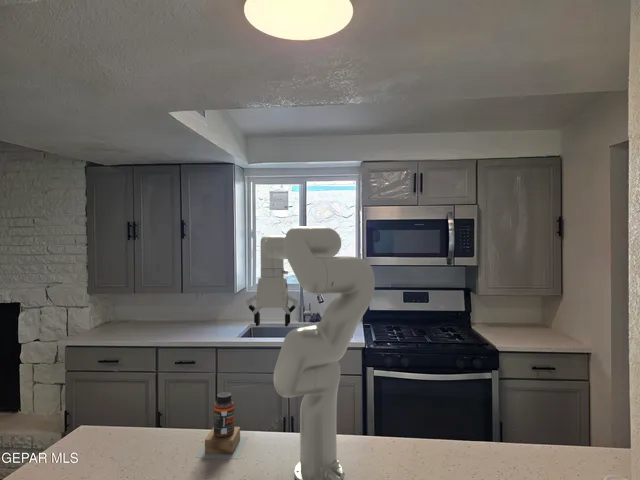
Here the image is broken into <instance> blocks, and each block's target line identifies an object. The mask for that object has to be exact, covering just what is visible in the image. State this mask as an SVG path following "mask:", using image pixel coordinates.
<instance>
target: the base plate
mask: <svg viewBox="0 0 640 480" xmlns="http://www.w3.org/2000/svg"><path fill="white" fill-rule="evenodd" d="M248 439H249V437H248V436H240V441H239V443H238V445H237V447H236V449H235V451H234V453H233V455H229V454H205V443H204V444H203V445H202V447H201V448H200V450H199V451H198V453H197V454H196V456H195V458H198V459H226V460H227V459H228V460H233V459H234V460H238V459H239V457H240V456H241V453H242V451H243V449H244V447H245V446H246V443H247V441H248Z"/></svg>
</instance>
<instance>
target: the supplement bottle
mask: <svg viewBox="0 0 640 480" xmlns="http://www.w3.org/2000/svg"><path fill="white" fill-rule="evenodd" d="M216 396H217V397H216V401H214V404H213V427H214V435H215V436H217V437H227V436H230V435H231V434H233V433H234V427H235V402H234V400H233V399H232V393H231V392H228V391H227V392H226V391H224V392H223V391H222V392H220V393H218V394H216Z"/></svg>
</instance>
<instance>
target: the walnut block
mask: <svg viewBox="0 0 640 480" xmlns="http://www.w3.org/2000/svg"><path fill="white" fill-rule="evenodd" d="M240 437H241V427H240V426H234V433H233V434H231V435H230V436H227V437H217V436H215V435H214V426H213V427H212V428H211V430H210V432H209V433H208V434H207V436H206V437H205V439H204V444H205V454H229V455H233V453H234V451H235V449H236V447H237V445H238V443H239V441H240Z"/></svg>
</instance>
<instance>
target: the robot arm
mask: <svg viewBox="0 0 640 480" xmlns="http://www.w3.org/2000/svg"><path fill="white" fill-rule="evenodd" d="M341 248H342V238H341V236H340V234H339V233H338V232H337V231H336V230H335V229H333V228H331V227H327V226H307V225H306V226H294V227H291V228H290V229H289V230H288V231H287V232H286V233H285V234H282V235H280V234H279V235H277V234H274V235H267V236H261V239H260V277H258V280H257V284H256V285H257V286H256V294H255V295H254V296H252V297H250V298H248V299H246V300H245V302H246V305H247V307H248V309H249V310H250V311H251V312H252V314H253V316H254V317H253V322H254V324H255V327H259V326H260V324H261V314H260V310H261V309H270V310H271V309H276V310H277V309H279V310H280V309H283V311H284V313H285V314H284V327H287V328H288V326H289V324H291V313H292V312H293V311H294V310H295V309H296V307H297V306H298V303H299V302H300V301H299V299H297V298H295V297H293V296H291V295H290V294H289V289H288V282H287V277H284V276H285V275H288V274H289V269H288V270H287V269H285V268H284V261H285V260H287V261H288V263H289V266H290V267H291V269H292V272H293V273H294V276H295V278H296V279H297V281H298V283H299V285H300V287H301V288H302V290H303V291H304V292H305V293H307V294H309V295H319V296H320V295H327V294H338V295H337V296H336V297H335V298H334V299H333V300H332V301H331V302H330V303H329V304H328V305H327V307H326V308H325V310H324V312H323V314H322V317H321V318H320V319H321V320H320V321H319V322H318V323H316V324H313V325H307V326H301V327H300V326H299V327H295V328H293V329H291V330H290V331H288V333H287V334H286V335H285V337H284V340H283V341H282V345H281V348H280V350H279V354H278V358H277V360H276V363H275V366H274V369H273V385H274V389H275V392H276V393H277V394H278V395H280V396H281V397H283V398H286V399H288V398H289V399H291V398H294V397H295V398H296V397H300V396H303V398H302V400H301V404H300V411H299V412H300V413H299V426H300V427H299V432H300V433H299V435H300V436H299V441H300V442H299V443H300V444H299V445H300V449H299V450H300V451H299V452H300V454H299V457H300V460H299V462H298V463H297V464H296V465H295V467H294V472H293V473H294V478H295V479H296V480H342V479H344V478H345V476H346V475H345V472H344V471H343V467H342V465H341V464H340V460H338V459H337V458H338V457H337V449H338V448H337V446H338V445H337V444H338V443H337V413H338V412H337V405H338V403H337V402H338V401H337V400H338V392H339V391H338V389H339V384H340V379H341V365H340V363H339V361H340V360H341V359H342V358H343V356H344V355H346V354H345V353H346V352H347V349H348V347H349V345H350V343H351V341H352V339H353V336H354V334H355V333H356V329H357V327H358V325H359V323H360V322H361V319H362V318H363V316H364V315H365V314H366V312H367V310H368V309H369V306H370V305H371V303H372V300H373V298H374V293H375V285H376V284H375V283H376V282H375V280H376V279H375V273H374V270H373V267H372V265H371V264H370V263H369V262H368V261H367V260H365V259H364V258H361V257H357V256H350V255H349V256H346V255H345V256H342V255H341V256H336V255H337V254H338V253H339V252H340V250H341ZM339 293H340V294H339ZM253 301H255V304H256V307H255V306H254V305H253V303H252V302H253ZM289 301H290V302H292V306H290V307H289Z"/></svg>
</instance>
